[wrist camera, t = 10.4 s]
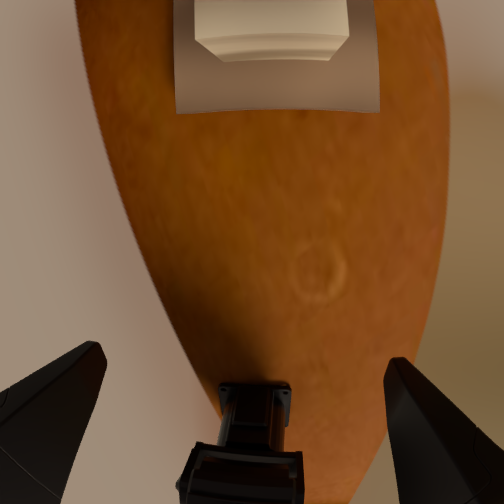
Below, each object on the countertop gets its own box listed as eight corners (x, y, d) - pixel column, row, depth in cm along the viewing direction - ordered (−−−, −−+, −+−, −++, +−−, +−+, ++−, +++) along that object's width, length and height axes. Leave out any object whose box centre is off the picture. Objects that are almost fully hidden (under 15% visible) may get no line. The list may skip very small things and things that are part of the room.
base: (364, 112, 16) (379, 112, 13) (193, 113, 17) (176, 113, 14) (354, -32, 11) (364, -53, 9) (190, -28, 12) (174, -47, 10)
